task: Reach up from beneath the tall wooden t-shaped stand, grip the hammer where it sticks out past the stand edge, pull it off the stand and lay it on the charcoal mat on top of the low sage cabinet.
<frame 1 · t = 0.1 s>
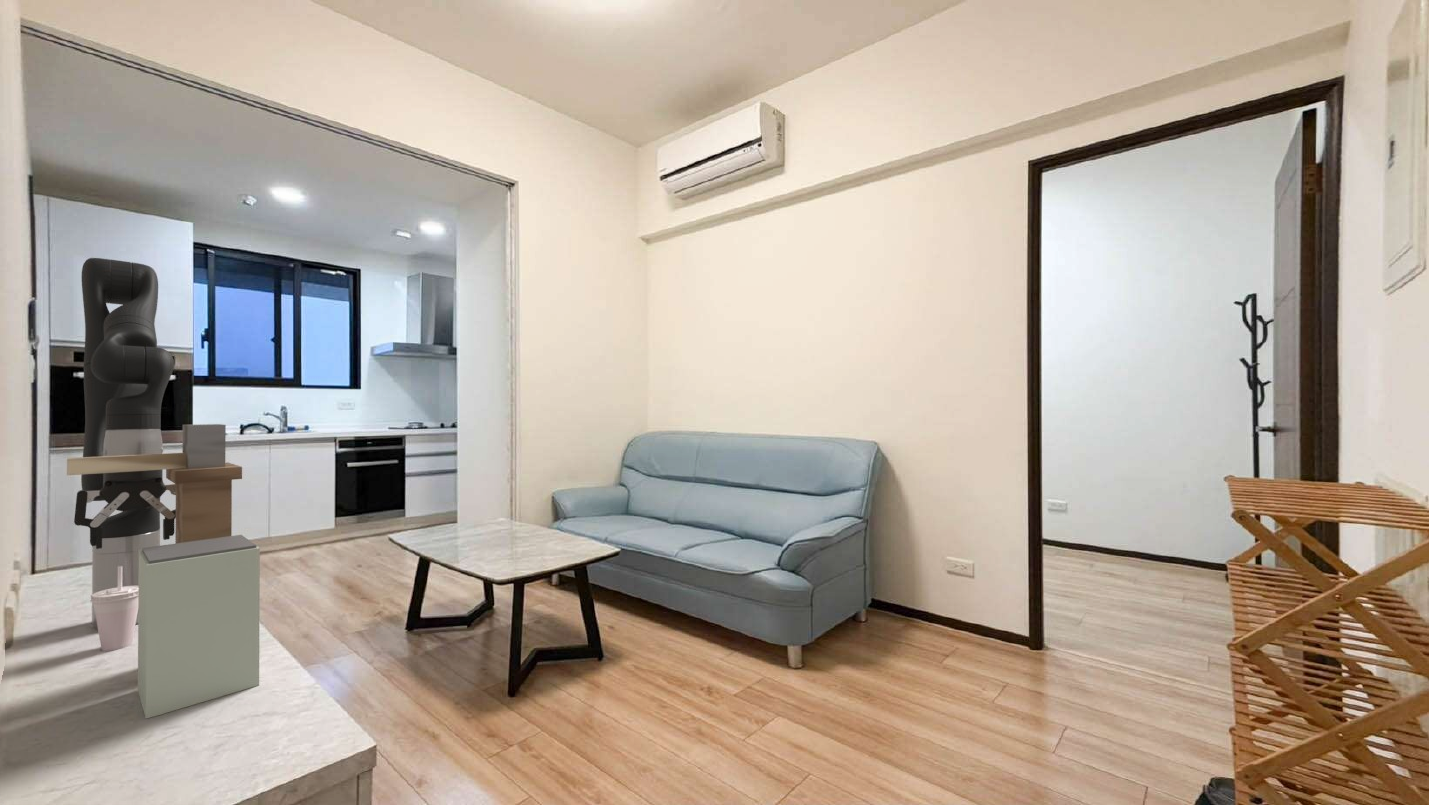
hand: (133, 543, 102), 17 cm above the table, tool pointing down, fingers open, 8 cm apart
sage cabinet: (198, 687, 83), on the table
hammer: (144, 470, 88), point 32 cm above the table, touching wooden t-shaped stand
smoothie: (117, 647, 98), on the table
wooden t-shaped stand: (202, 658, 93), on the table
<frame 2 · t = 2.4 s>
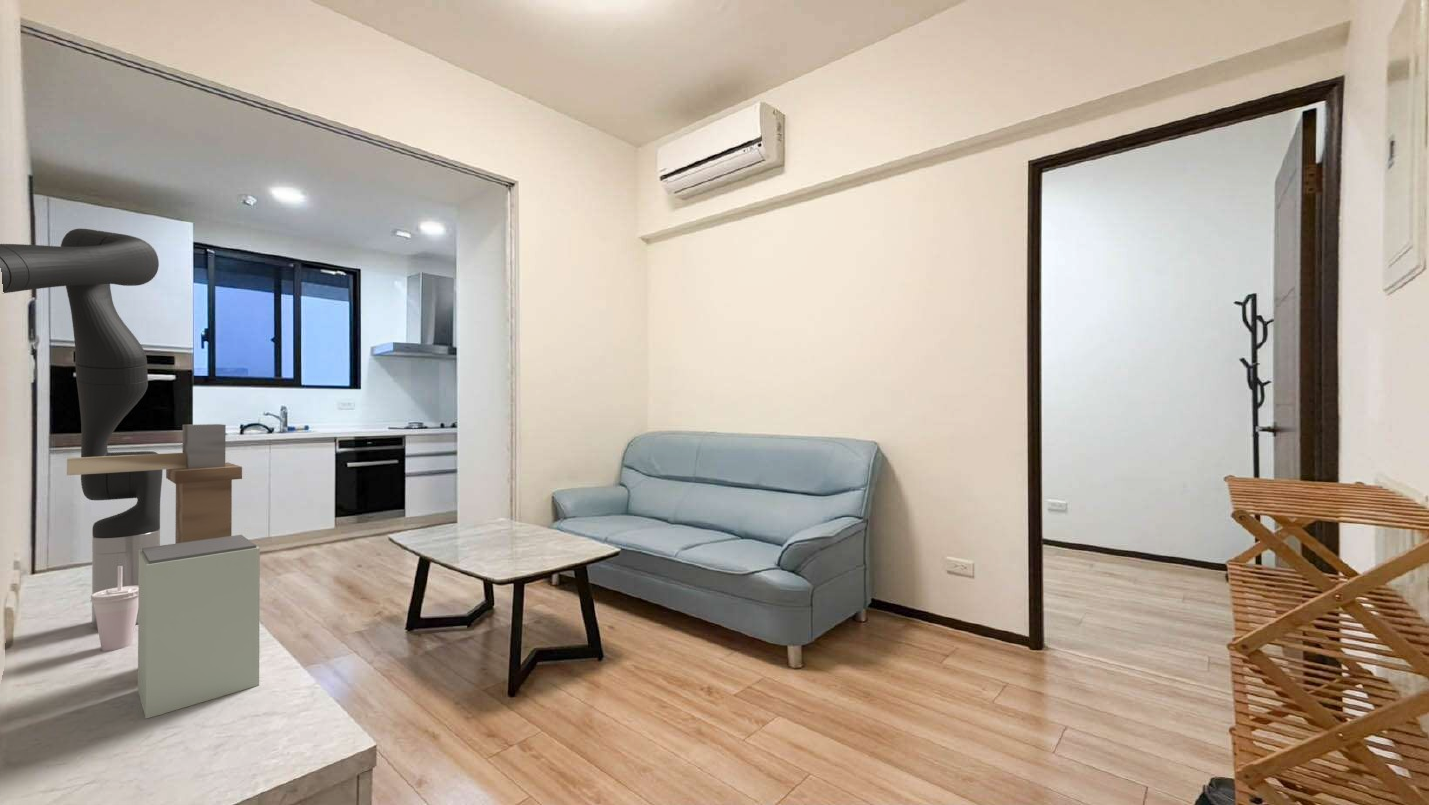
nothing on the table moved.
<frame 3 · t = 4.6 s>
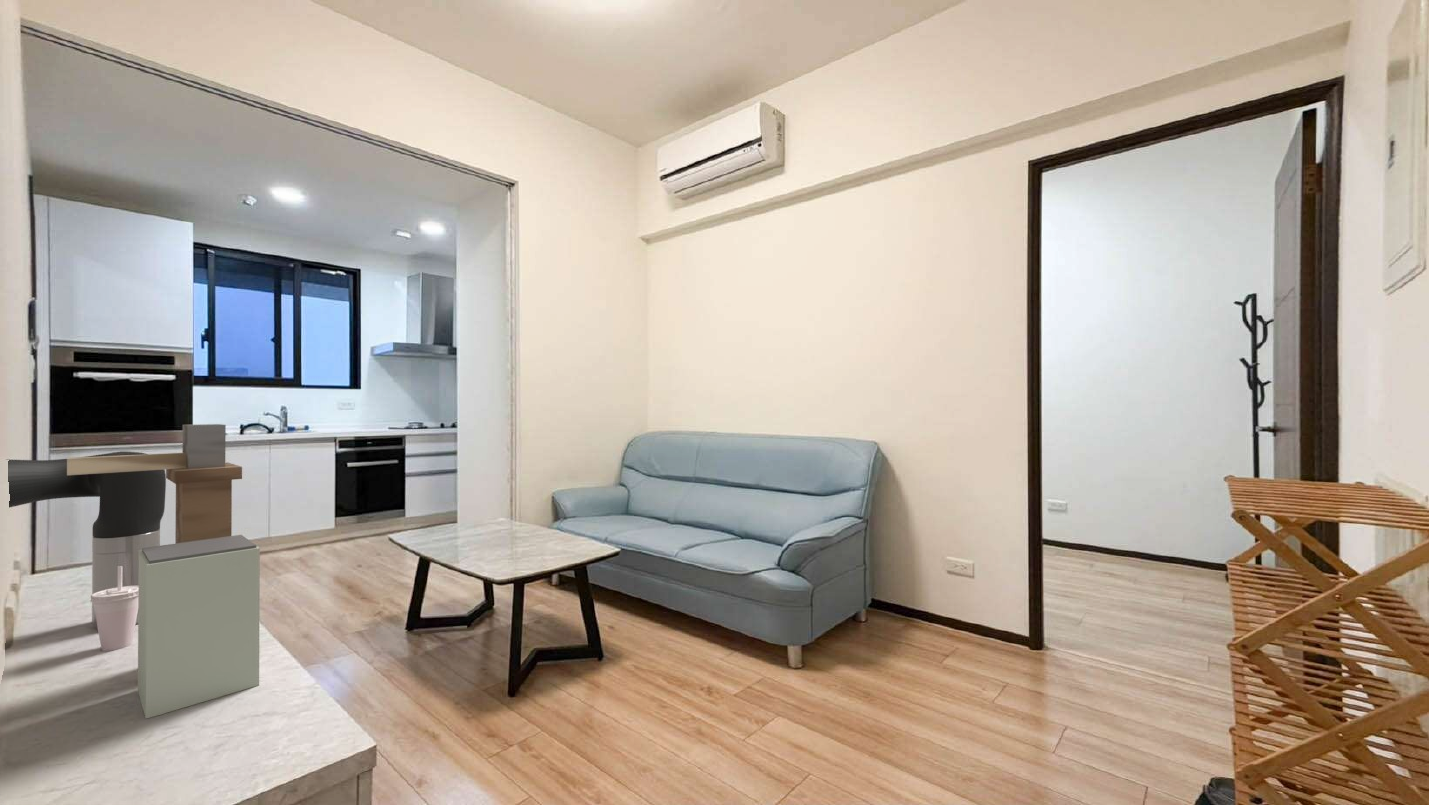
nothing on the table moved.
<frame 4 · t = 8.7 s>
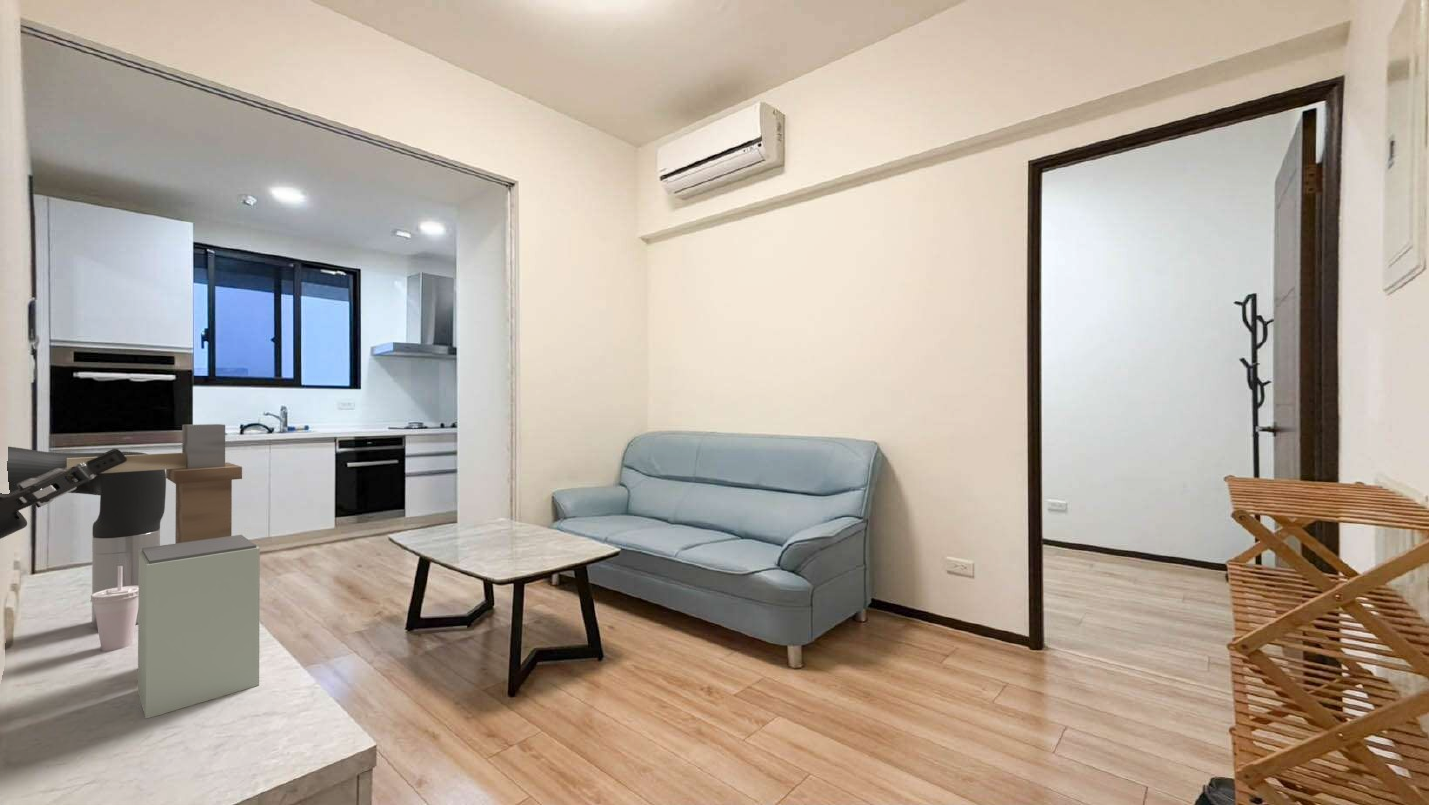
hand: (121, 454, 87), 35 cm above the table, tool pointing upward, fingers closed on hammer, 2 cm apart
hammer: (144, 470, 88), point 32 cm above the table, touching gripper, wooden t-shaped stand
everything else where it was.
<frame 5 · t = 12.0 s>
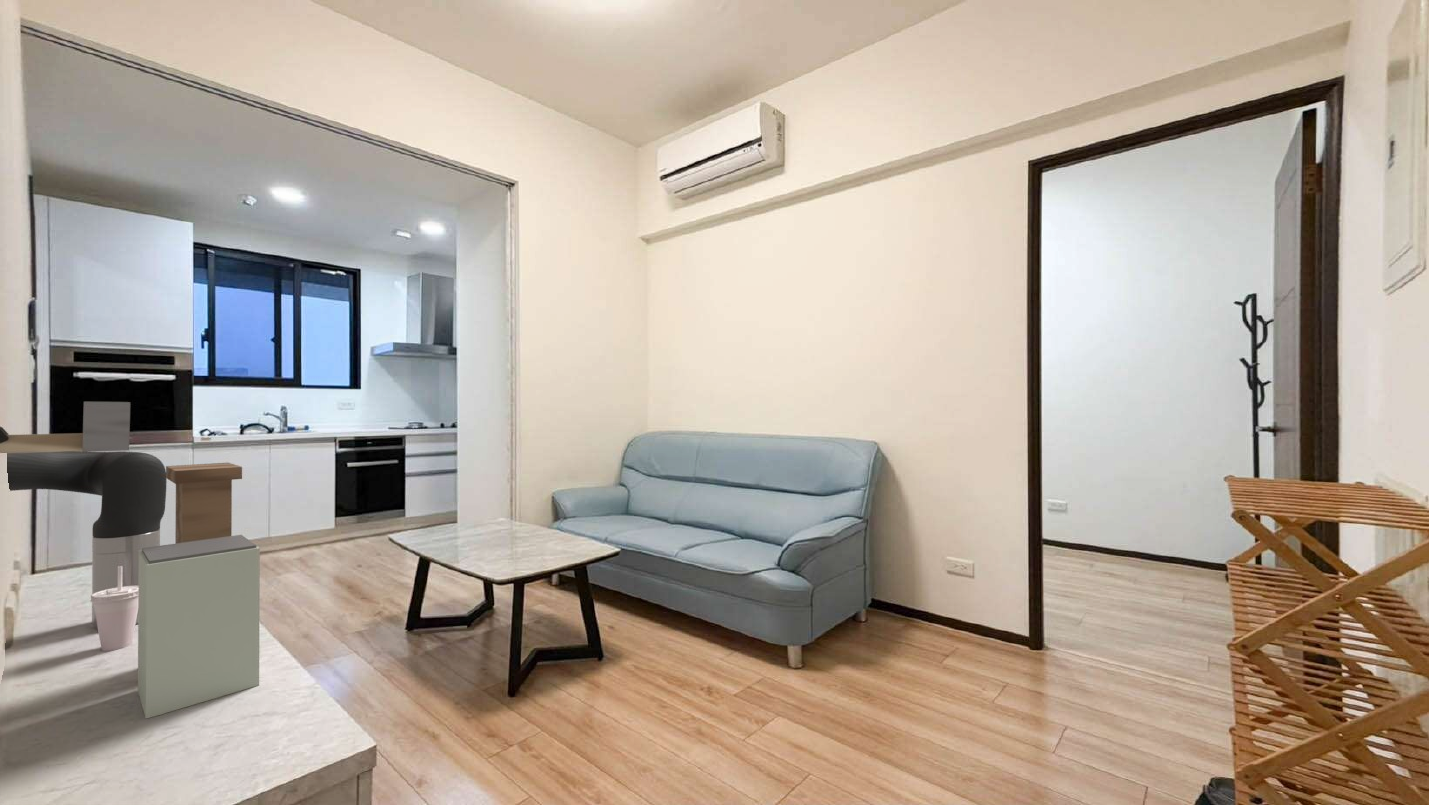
hand: (4, 432, 75), 39 cm above the table, tool pointing upward, fingers closed on hammer, 2 cm apart
hammer: (30, 452, 77), point 36 cm above the table, touching gripper
everything else where it was.
when the fingers open (26 cm above the table, at t = 15.3 s): hammer drops 2 cm, resting on sage cabinet.
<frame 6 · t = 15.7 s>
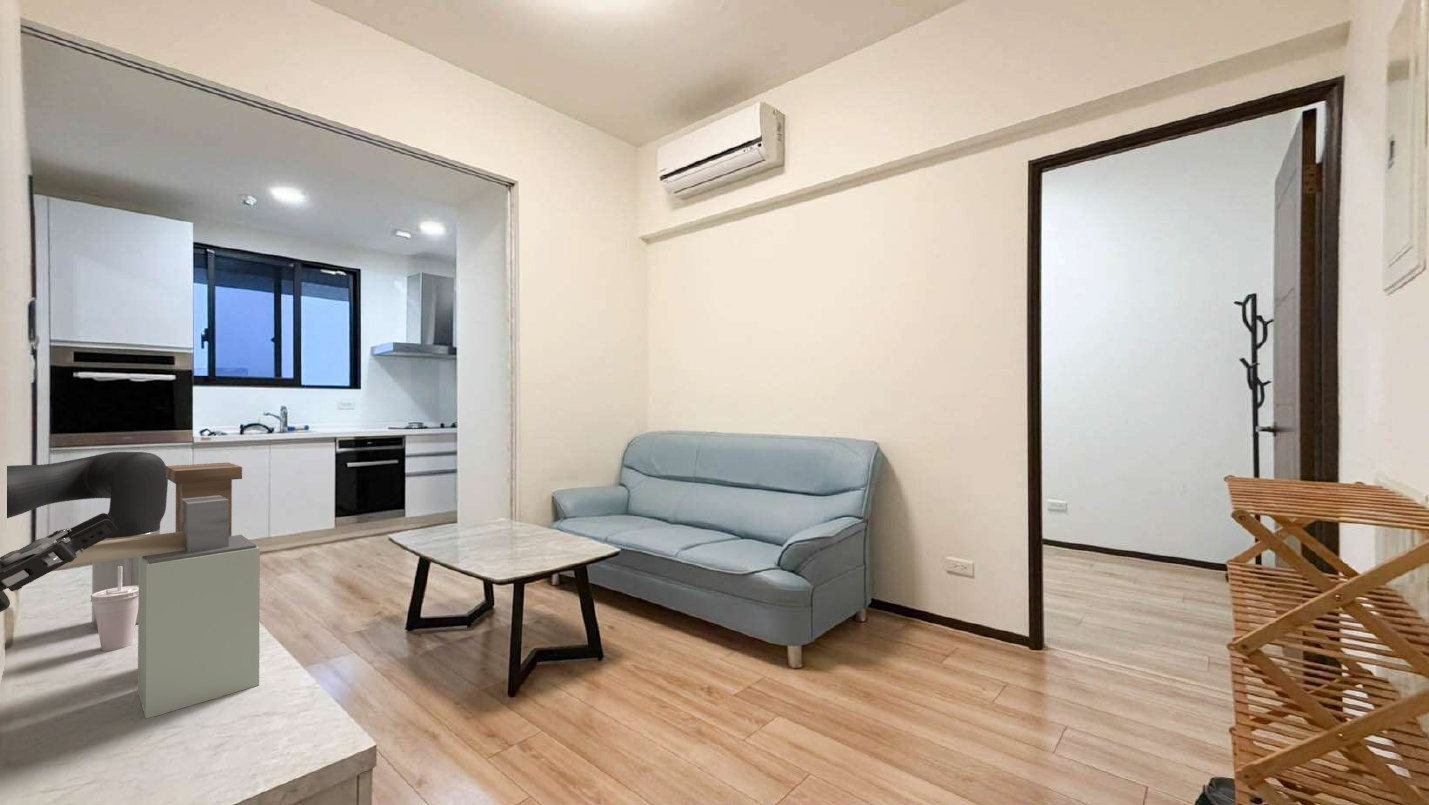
hand: (111, 521, 77), 26 cm above the table, tool pointing upward, fingers open, 6 cm apart
hammer: (137, 555, 79), point 21 cm above the table, touching sage cabinet
everything else where it was.
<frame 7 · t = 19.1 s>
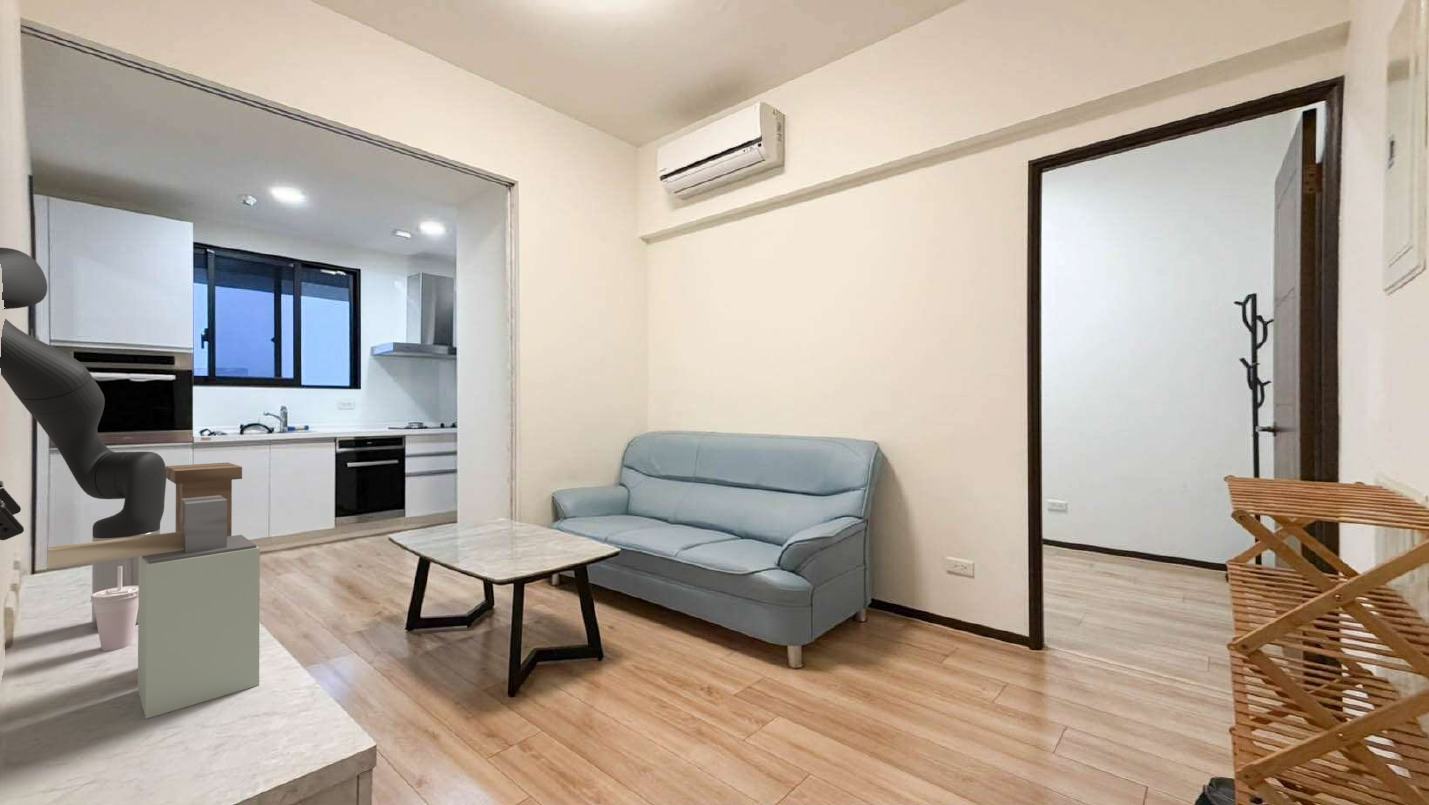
hand: (12, 525, 73), 27 cm above the table, tool tilted 30°, fingers open, 8 cm apart
nothing on the table moved.
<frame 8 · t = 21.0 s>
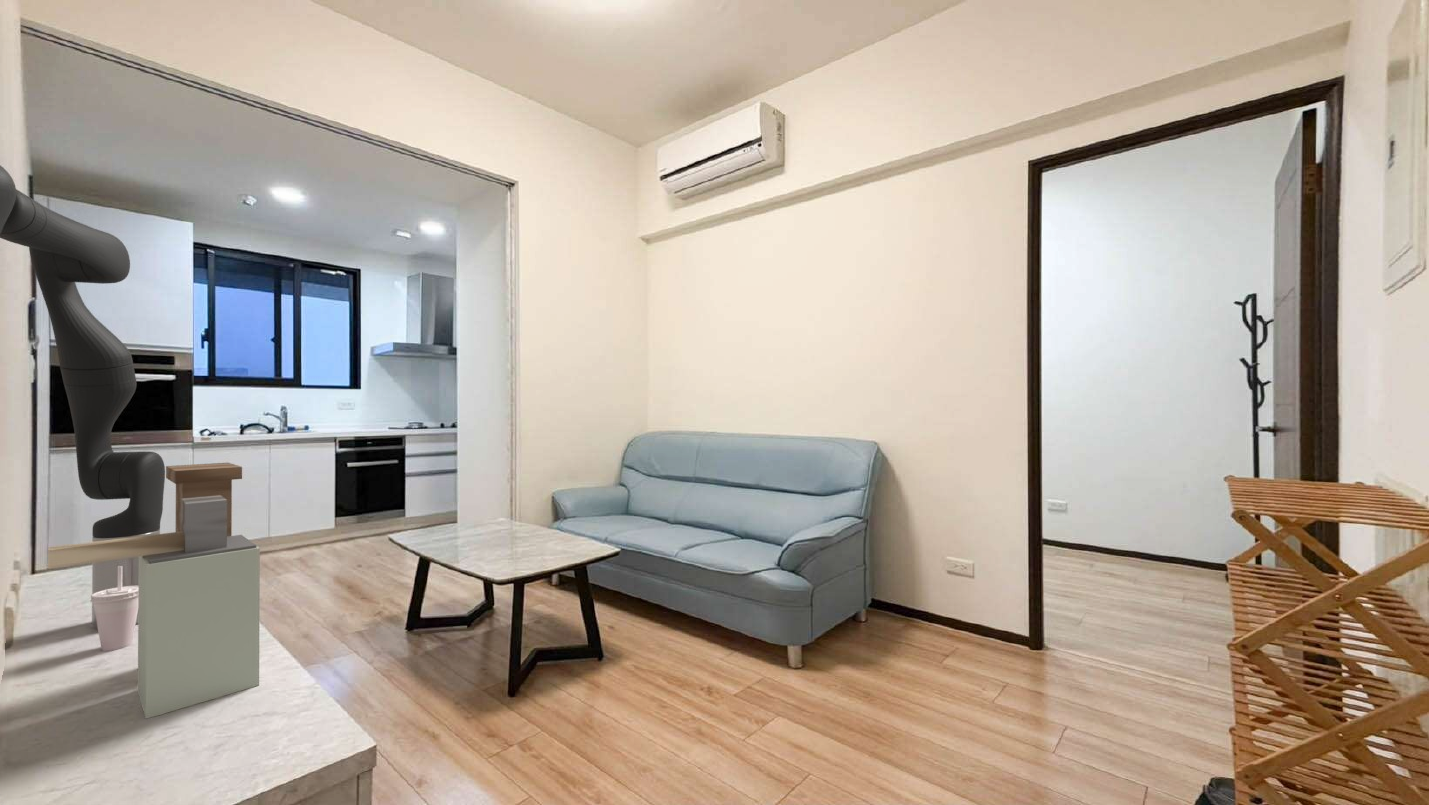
nothing on the table moved.
at the end: hammer inside the target area (1.0 cm from its centre), point 21.0 cm above the table; hammer touching sage cabinet; the gripper is holding nothing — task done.
